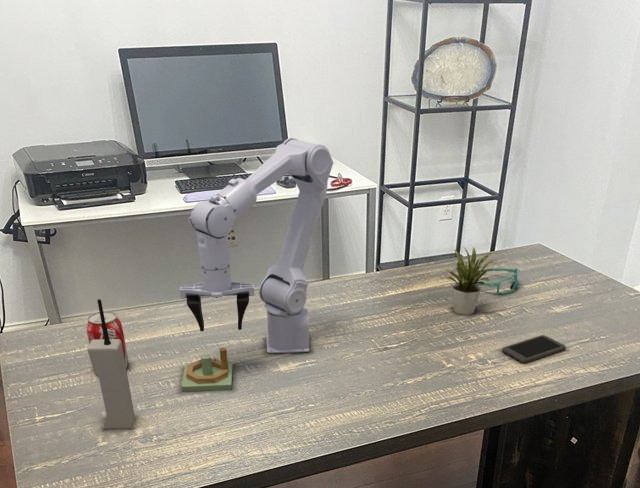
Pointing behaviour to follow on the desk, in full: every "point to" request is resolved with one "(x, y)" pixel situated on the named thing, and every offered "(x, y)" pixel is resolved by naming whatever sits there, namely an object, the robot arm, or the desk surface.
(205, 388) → the peg stand
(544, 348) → the cell phone
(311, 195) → the robot arm
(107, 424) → the vintage mobile phone
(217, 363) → the maple ring
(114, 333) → the soda can
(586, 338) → the desk surface
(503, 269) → the sunglasses
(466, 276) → the house plant
